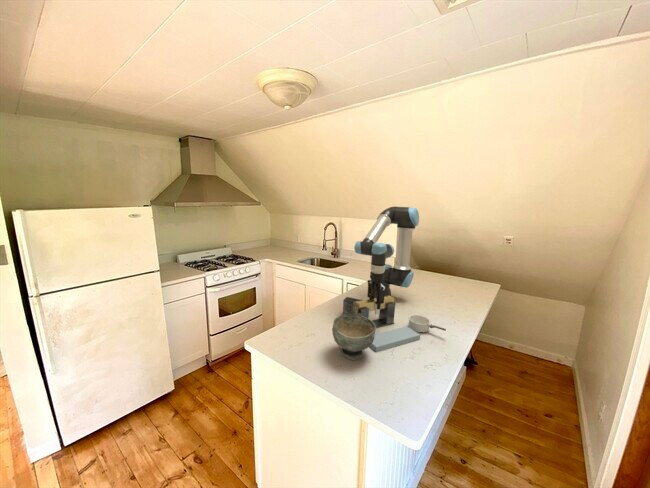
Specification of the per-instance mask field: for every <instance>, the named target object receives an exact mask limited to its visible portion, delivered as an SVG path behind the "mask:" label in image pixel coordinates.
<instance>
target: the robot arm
mask: <svg viewBox="0 0 650 488" xmlns="http://www.w3.org/2000/svg"><path fill="white" fill-rule="evenodd" d="M419 222H420V213H419V211H418V209H417V208H416V207H412V206H411V207H409V206H408V207H407V206H394V205H393V206H391V207H388V208H386V209H384V210H383V211H381V212H380V213H379V215H378V216H377V218H376V221H375V222H374V224H373V226H372V227H371V228H370V230H369V231H368V232H367V234H366V235H365V237H364V238H363V239H362V241H361V240H358V241H356V242H355V244H354V252H355V253H356V254H358V255H363V256H370V257H371V259H370V274H369V275H370V276H369V278H370V279H368V280H367V298H368V299H373V298H376V301H377V303H375V310H373V311H372V312H374V315H375V316H376V315H379V313H380V306H381V304H383V303H384V297H385V296H390V295H392V292H391V291H392V290H391V288H390V286H391V285H392V286H395V287H396V286H397V287H400V288H407V289H408V288H409V287H410V285H411V284H412V282H413V279H414V271H413V270H412V267H411V266H410V260H411V251H412V249H411V248H412V239H413V231H414V230H415V229H416V227H418V225H420V223H419ZM392 224H393V225H394V224H395V225H396V228H397V229H398V237H397V239H398V240H397V248H396V249H397V251H396V264H394V265H393V267H392V264H389V263H388V264H387V263H386V261H387V259H388V258H391V257H392V256H393V255H394V253H395V247H394V246H393V244H390V243H381V242H378V241H379V239H380V238H381V236H382V235H383V233H384V232H385V230H386V229H387V228H388V227H389V226H390V225H392Z"/></svg>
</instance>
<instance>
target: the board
mask: <svg viewBox="0 0 650 488" xmlns="http://www.w3.org/2000/svg"><path fill="white" fill-rule="evenodd" d="M419 339H420V340H421V334H420V333H419V332H416V331H414V330H412V329H410V328H409V326H408V325H406V326H402V327H397V328H394V329H389V330H386V331H382V332H378V333H375V337H374V340H373V343H372V344H371V345H370V346H369V347H370V349H372V350H373V351H375V353H377V352H381V351H384V350H388V349H391V348H392V349H393V348H394V347H398V346H402V345H406V344H408V343H412V342H416V341H419Z"/></svg>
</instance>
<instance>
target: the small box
mask: <svg viewBox="0 0 650 488" xmlns="http://www.w3.org/2000/svg"><path fill="white" fill-rule="evenodd" d="M362 300H363V299H359V298H354V297H348V296H346V297H345V298H344V299H343V303H342V315H353V314H354V311H353V302H356V301H362Z"/></svg>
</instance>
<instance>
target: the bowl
mask: <svg viewBox="0 0 650 488" xmlns="http://www.w3.org/2000/svg"><path fill="white" fill-rule="evenodd" d="M376 329H377V328H376V326H375V324H374V322H373V321H372V320H371V319H370V318H366V317H364V316H360V315H343V314H342V315H339V316H337V317H335V318H334V319H333V325H332V329H331V330H332V336H333V339H334V342H335V343H336V345H338V346H339V347H340V348H341V350H340V354H341V356H342V357H344V358H347V359H349V360H352V361H354V360H359V359H362V357H363V351H364V350H366V349H368V348H369V347H370V345H371V344H372V343H373V340H374V337H375V334H376Z"/></svg>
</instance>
